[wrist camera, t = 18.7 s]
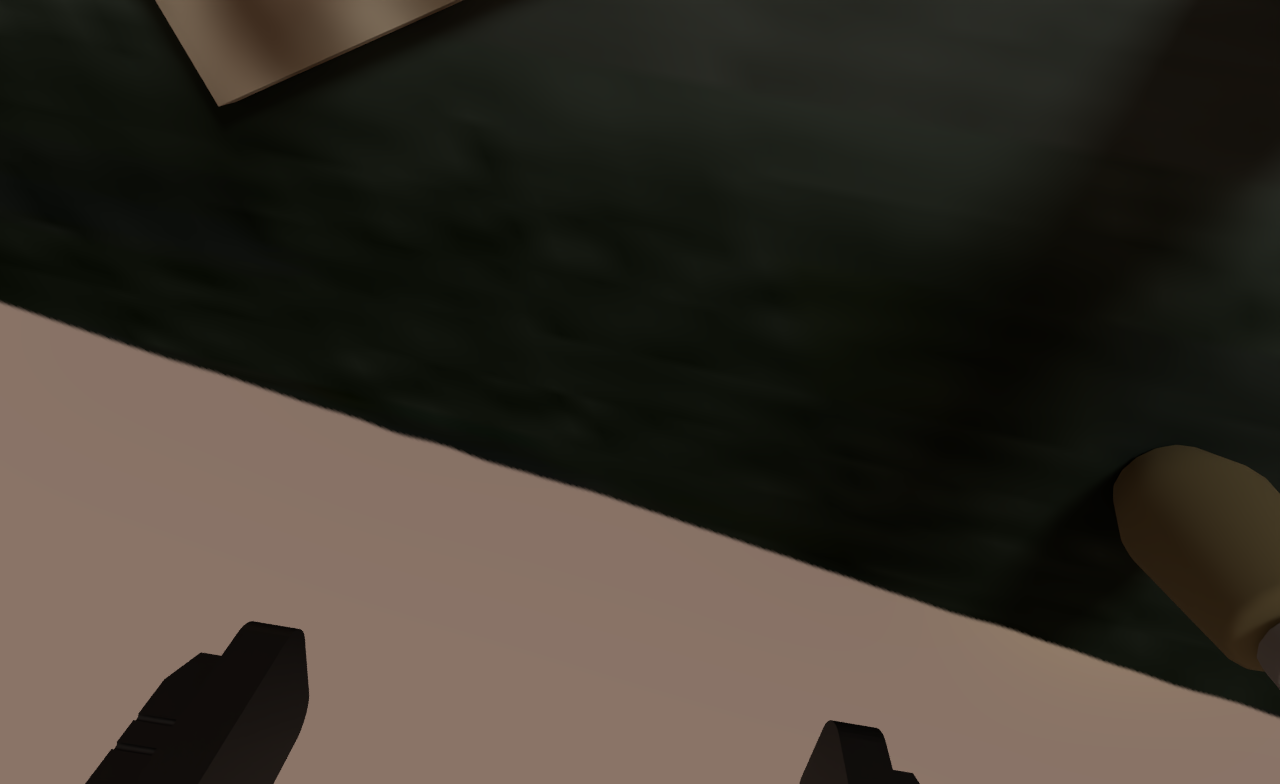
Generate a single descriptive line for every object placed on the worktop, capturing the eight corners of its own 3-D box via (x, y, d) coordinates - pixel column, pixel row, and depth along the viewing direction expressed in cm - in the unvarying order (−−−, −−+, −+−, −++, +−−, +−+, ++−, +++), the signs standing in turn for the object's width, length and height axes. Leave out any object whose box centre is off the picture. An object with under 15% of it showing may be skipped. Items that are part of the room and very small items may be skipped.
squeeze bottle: (1264, 451, 45) (1574, 707, 29) (1175, 548, 48) (1406, 821, 33) (1146, 410, 44) (1399, 650, 28) (1065, 512, 48) (1248, 774, 32)
